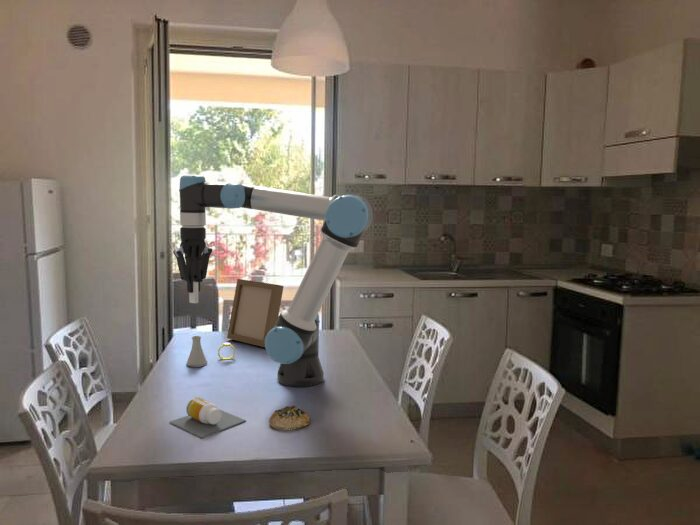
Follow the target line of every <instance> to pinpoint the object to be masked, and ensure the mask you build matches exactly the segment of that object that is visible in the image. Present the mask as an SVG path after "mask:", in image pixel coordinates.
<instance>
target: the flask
mask: <svg viewBox="0 0 700 525" xmlns="http://www.w3.org/2000/svg"><path fill="white" fill-rule="evenodd" d="M201 338H202V336H201V335H193V336H191V340H192V344H191V350H190V352H189V355H188V358H187V361H186V364H185V366H187V367H192V368H197V367H200V368H201V367H203V366H206V365H207V364H208V360H207V358H206V355H205V352H204V350H203V348H202V344H201Z"/></svg>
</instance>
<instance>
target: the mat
mask: <svg viewBox="0 0 700 525" xmlns="http://www.w3.org/2000/svg"><path fill="white" fill-rule="evenodd" d="M217 409H218V410H220V411H221V419H220V420H219V422H218V423H216V424H210V423H209V424H204V423H202V422H200V421H198V420H196V419H194V418H192V417H190V416H189V415H188V414H187V415H185V416H182V417H180V418H176V419H174V420H171V421H169V424H170V423H171V425H173V426H175V427H177V428H178V429H181V430H183V429H184V431H185V430H186V432H187V431H188V432H187V433H189V432H190V433H189V434H191V433H192V435H193V436H196V437H198V438H200V439H205V438H207V437H210V436H213V435H215V434H217V432H218V433H220V432H223V431H225V430H229V429H230V427H231V428H233V427H235V426H238V425H241V424H243V423H245V422H247V420H246V419H244V418H242V417H239V416H236V415H235V414H232V413H229V412H227V411H224V410H222V409H219V408H217ZM222 430H223V431H222ZM214 433H215V434H214ZM212 434H213V435H212ZM209 435H210V436H209ZM204 437H205V438H204Z"/></svg>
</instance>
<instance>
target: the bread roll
mask: <svg viewBox="0 0 700 525" xmlns="http://www.w3.org/2000/svg"><path fill="white" fill-rule="evenodd" d="M268 423H269V426H270V427H271V428H272V427H273V428H272V429H274V428H277V429H281V430H280V431H292V430H291V429H296V430H298V428H299V429H301V428H304V426H305V427H307V426H308V425H309V424H310V423H311V420H310V417H309V414H308V413H307V412H306V411H305V410H303V409H301V408H300V407H299V406H296V405H295V404H293V405H291V406H288V405H286V406H285V407H283V408H280V409H277V410H275V411H274V412H273V413H272V414H271V416H270V417H269V419H268ZM306 425H307V426H306ZM277 429H276V430H277ZM289 429H290V430H289Z"/></svg>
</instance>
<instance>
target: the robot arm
mask: <svg viewBox="0 0 700 525" xmlns="http://www.w3.org/2000/svg"><path fill="white" fill-rule="evenodd" d="M207 208H218V209H229V210H231V209H240V208H243V209H248V210H254V211H255V210H257V211H263V212H267V213H268V212H269V213H275V214H282V215H286V216H287V215H288V216H293V217H299V218H306V219H312V220H317V221H324V222H323V224H322V226H321V228H320V233H321V238H322V239H321V241H320V243H319V244H318V247H317V249H316V251H315V253H314V255H313V258H312V259H311V261H310V263H309V265H308V267H307V269H306V272H305V274H304V276H303V278H302V280H301V282H300V284H299V286H298V288H297V290H296V292H295V294H294V297H293V298H292V300H291V303H290V305H289V306H288V308H286V309H282V310H281V312H279V316H278V320H277V322H276V324H275V326H274V328H272V329H271V330H270V331H269V332H268V334H267V336H266V338H265V347H264V348H265V350H266V353H267V355H268V356H269V357H270V358H271V359H272V360H273V361H274V362H276V363H279V367H278V371H277V376H276V378H277V379H276V380H277V382H278V383H280V384H281V385H284V386H288V387H298V388H299V387H311V386H315V385H318V384H321V383H322V382H323V381H324V369H323V366H322V364H321V361H320V357H319V356H320V355H319V348H320V347H319V346H320V345H319V344H320V316H319V312H320V311H321V308H322V307H323V304H324V302H325V300H326V298H327V296H328V295H329V292H330V291H331V288H332V286H333V284H334V282H335V280H336V278H337V276H338V274H339V273H340V270H341V268H342V267H343V264H344V262H345V260H346V258H347V256H348V255H349V254H348V253H349V252H350V251H353V250H355V249H357V247H358V245H359V243H360V242H361V240H362V237H363V236H364V233H365V232H366V231H367V230H369V229H370V228H371V226H372V225H373V223H374V221H375V217H376V211H375V208H374V205H373V203H372V201H370V199H368V198H367V197H365V196H363V195H360V194H343V195H341V194H334V195H332V196H326V195H320V194H319V195H318V194H312V193H305V192H299V191H294V190H293V191H292V190H285V189H277V188H272V187H264V186H258V185H251V184H247V183H242V182H241V183H240V182H238V183H237V182H236V183H235V182H207V181H206V177H205V176H204V175H182V176H180V178H179V223H180V226H182V227H180V229H179V232H180V233H179V236H180V241H181V242H180V244H179V247H178V248H177V249H175V250H173V251H172V253H173V255H174V257H175V258H176V259H175V260H176V263H177V267H178V272H179V275H180V280H181V281H184V282H186V287H187V288H186V289H187V293H188V300H189V302H188V303H189V304H199V298H200V297H199V292H201V283H203V280H205V279H206V277H207V272H208V267H209V263H210V262H209V261H210V258H211V257H210V256H212V253H213V248H212V247H208V246H207V244H206V237H207V234H206V233H207V232H206V230H207V229H206V228H205V226H206V225H207V220H206V217H207V215H206V209H207Z"/></svg>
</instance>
